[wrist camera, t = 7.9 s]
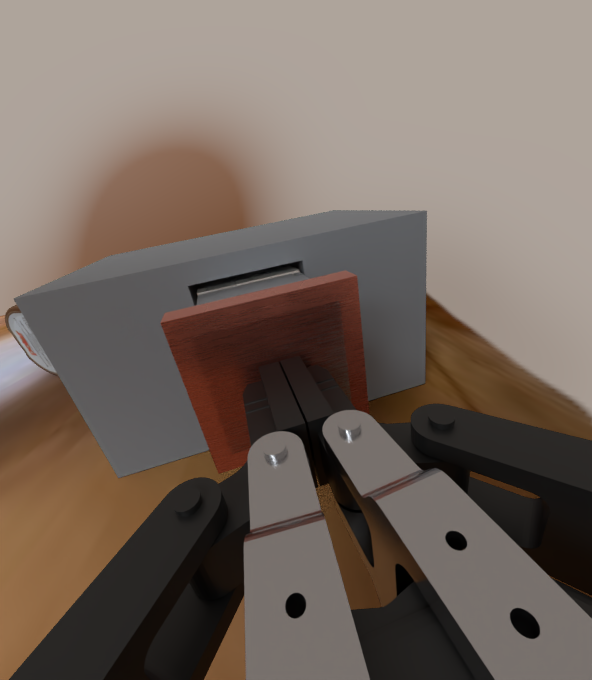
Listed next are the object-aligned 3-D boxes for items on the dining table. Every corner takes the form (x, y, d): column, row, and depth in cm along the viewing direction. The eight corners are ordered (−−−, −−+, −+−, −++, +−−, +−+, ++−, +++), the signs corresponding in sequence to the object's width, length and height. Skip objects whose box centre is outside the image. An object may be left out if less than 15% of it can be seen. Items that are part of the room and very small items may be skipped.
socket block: (425, 383, 21) (426, 210, 16) (118, 477, 18) (13, 298, 13) (345, 318, 33) (333, 210, 29) (157, 367, 30) (109, 255, 26)
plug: (370, 424, 13) (357, 275, 10) (218, 473, 12) (160, 322, 9) (287, 312, 27) (272, 237, 25) (215, 330, 26) (191, 254, 24)
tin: (154, 369, 30) (119, 287, 27) (129, 388, 28) (86, 299, 24) (59, 363, 36) (20, 295, 33) (31, 378, 34) (-15, 306, 30)
